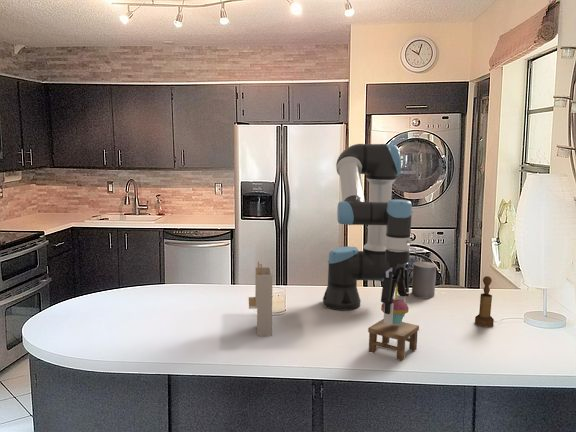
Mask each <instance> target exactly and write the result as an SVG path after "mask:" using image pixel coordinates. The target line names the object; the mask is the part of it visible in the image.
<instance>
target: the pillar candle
mask: <svg viewBox="0 0 576 432" xmlns="http://www.w3.org/2000/svg"><path fill="white" fill-rule="evenodd" d="M412 267H413V269H412V281H411V282H412V284H411V285H412V287H411V296H414V297H415V298H421V299H431V298H434V296H435V293H436V291H435V290H436V280H437V279H436V277H437V264H436V263H433V262H431V261H416V262H414V263H413V266H412Z"/></svg>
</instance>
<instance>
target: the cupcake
mask: <svg viewBox="0 0 576 432" xmlns="http://www.w3.org/2000/svg"><path fill="white" fill-rule="evenodd" d="M397 295H398V286H397V285H396V288H395V292H394V298H393V301H392V303H394V304H393V324H399V323H401V322H403V320H404V319H403V318H404V317H405V316H404V315H406V314H408V312H409V306H408V305H407V303H406V301H405V302H403V301H401V300H397ZM381 303H382V304H381V307H380V308H381V309H380V310H381V312H383V314H384V303H383V302H381Z"/></svg>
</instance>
